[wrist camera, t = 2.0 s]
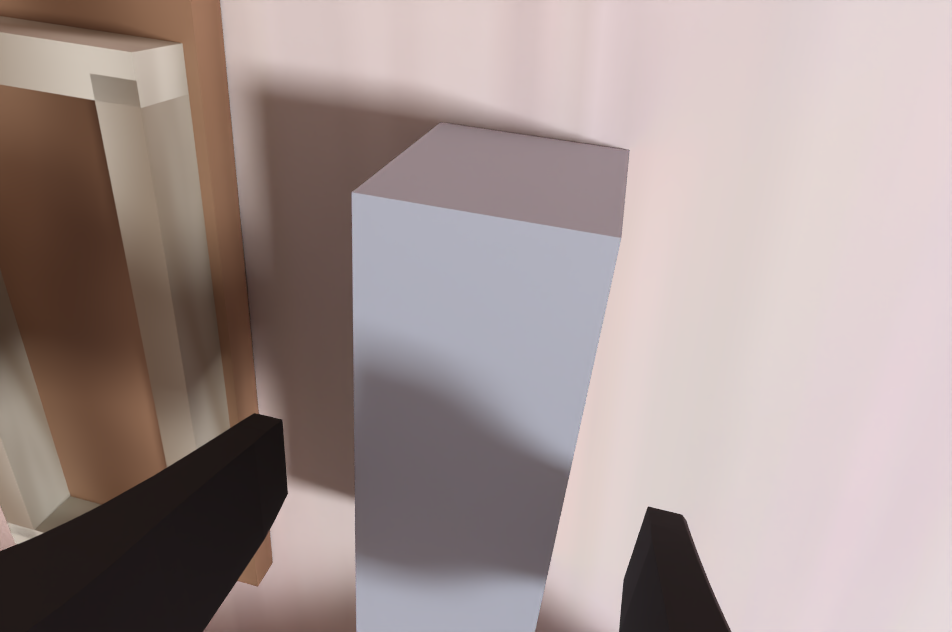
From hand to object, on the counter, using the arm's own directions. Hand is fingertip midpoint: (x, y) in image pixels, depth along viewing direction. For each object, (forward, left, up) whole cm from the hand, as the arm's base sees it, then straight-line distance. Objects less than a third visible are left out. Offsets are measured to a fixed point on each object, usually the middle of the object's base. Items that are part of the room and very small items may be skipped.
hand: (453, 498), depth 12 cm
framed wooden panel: (+11, +1, -5) cm, 12 cm away
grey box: (0, 0, -5) cm, 5 cm away
